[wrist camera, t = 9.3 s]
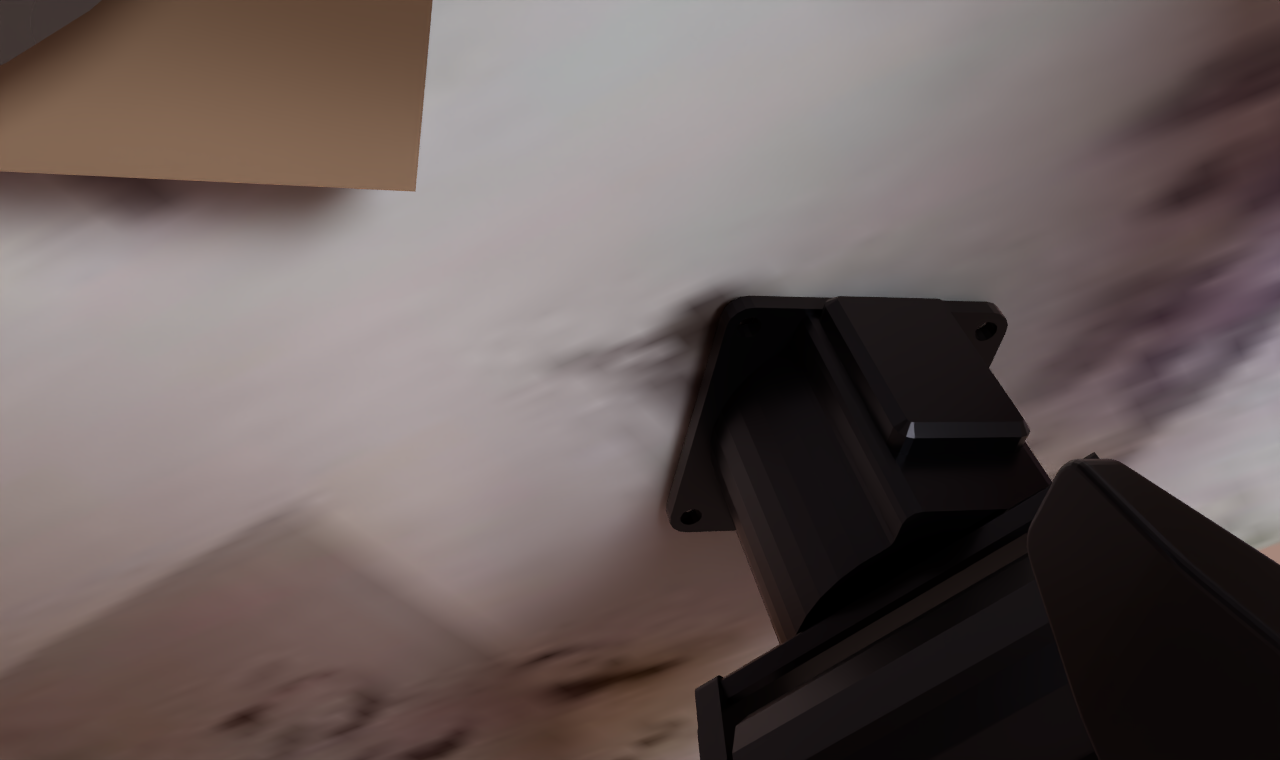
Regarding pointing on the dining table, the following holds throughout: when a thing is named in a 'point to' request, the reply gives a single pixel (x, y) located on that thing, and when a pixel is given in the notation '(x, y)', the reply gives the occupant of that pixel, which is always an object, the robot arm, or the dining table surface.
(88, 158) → the wheel base
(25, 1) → the handwheel
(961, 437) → the robot arm
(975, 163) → the dining table surface
